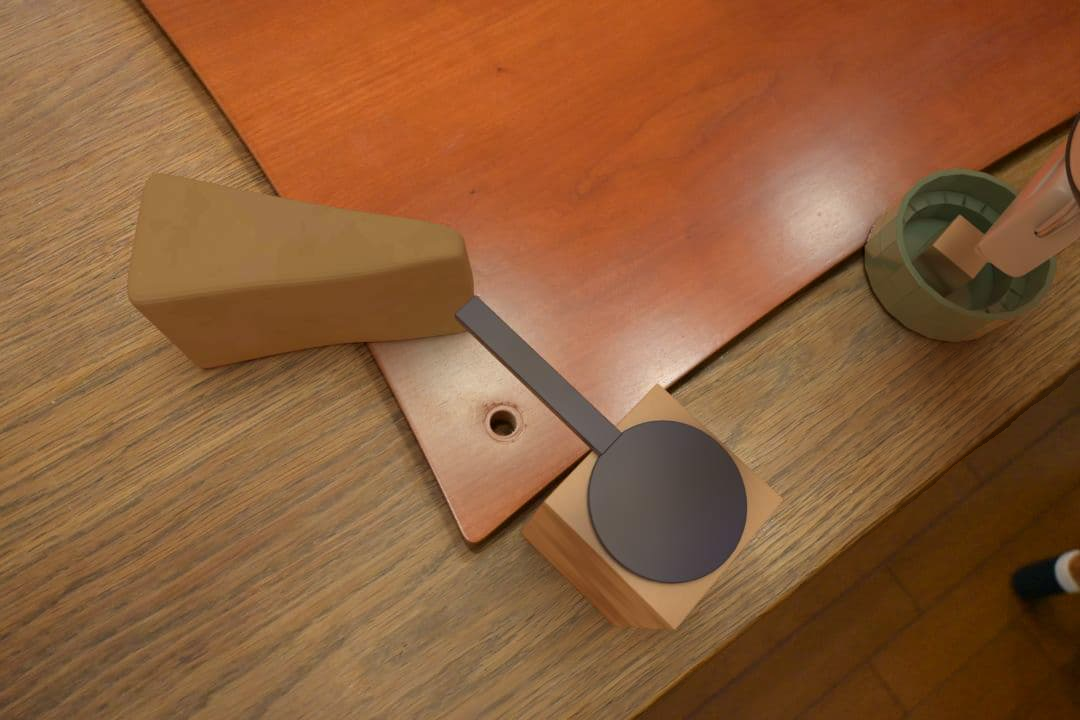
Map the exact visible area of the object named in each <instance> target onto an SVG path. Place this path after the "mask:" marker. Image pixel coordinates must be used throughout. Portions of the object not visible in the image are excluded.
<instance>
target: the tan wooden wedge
mask: <svg viewBox="0 0 1080 720" xmlns="http://www.w3.org/2000/svg"><path fill="white" fill-rule="evenodd" d="M135 226H136V227H135V232H134V237H133V242H132V243H133V244H132V249H131V256H130V261H129V265H128V275H127V286H126V291H127V296H128V300H129V302H130V303H131V305H132V306H133V307H134V308H135V309H136V310H137V311H138V312H139V313H140V314H141V315H142V316H144V317H145V319H147V320H148V321H149V322H150V323H151V325H153V326H154V327H155V328H156V329H157V330H158V331H159V332H160V333H162V334H163V335H164V337H166V338H167V339H168V340H169V341H170V342H171V343H172V344H173V345H174V346H175V347H176V348H177V349H179V351H180V352H181V353H182V354H183V355H184V356H185V357H186V358H188V359H189V361H191V363H193V364H194V365H195V366H197V367H198V368H201V369H211V368H217V367H221V366H226V365H230V364H235V363H239V362H240V363H241V362H244V361H251V360H255V359H259V358H260V359H261V358H265V357H270V356H274V355H275V356H276V355H280V354H284V353H290V352H295V351H299V350H300V351H301V350H307V349H312V348H318V347H319V348H320V347H324V346H332V345H339V344H340V345H341V344H351V343H366V342H367V343H370V342H371V343H372V342H391V341H402V340H414V339H420V338H429V337H435V336H444V335H451V334H459V333H464V332H466V331H467V330H466V329H465V328H464V327H463V326H462V325H461V324H460V323H459V322H458V321H456V320H455V313H456V312H457V311H458V310H459V309H461V308H462V307H463V306H464V305H465V304H466V303H467V302H468V301H469V300H471V299H472V298H473V297H474V296H475V284H474V274H473V268H472V265H471V262H470V258H469V253H468V250H467V246H466V242H465V238H464V236H463V235H462V233H461V232H460V231H458V230H457V229H456V228H453V227H451V226H448V225H444V224H441V223H438V222H437V223H436V222H433V221H428V220H422V219H416V218H410V217H409V218H408V217H402V216H396V215H388V214H382V213H381V214H380V213H373V212H368V211H361V210H354V209H347V208H342V207H336V206H331V205H324V204H319V203H312V202H307V201H303V200H296V199H292V198H287V197H280V196H277V195H276V196H275V195H271V194H266V193H262V192H261V193H260V192H257V191H252V190H247V189H242V188H238V187H233V186H228V185H223V184H219V183H215V182H214V183H213V182H209V181H206V180H205V181H204V180H199V179H194V178H189V177H185V176H179V175H174V174H169V173H161V172H156V173H153V174H151V175H149V176H148V178H147V180H146V181H145V183H144V186H143V190H142V193H141V198H140V204H139V209H138V214H137V221H136V225H135ZM467 332H468V331H467Z"/></svg>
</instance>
